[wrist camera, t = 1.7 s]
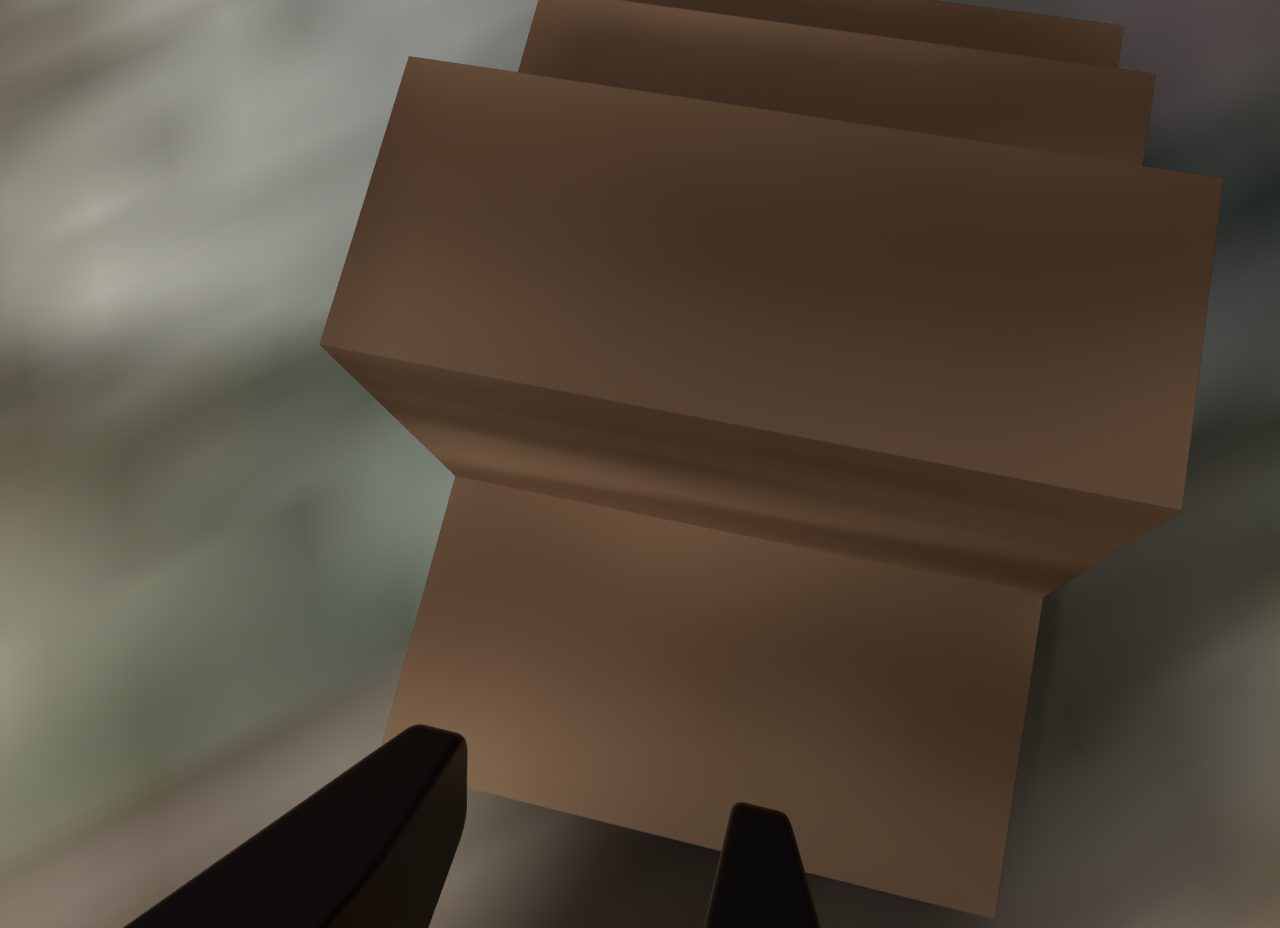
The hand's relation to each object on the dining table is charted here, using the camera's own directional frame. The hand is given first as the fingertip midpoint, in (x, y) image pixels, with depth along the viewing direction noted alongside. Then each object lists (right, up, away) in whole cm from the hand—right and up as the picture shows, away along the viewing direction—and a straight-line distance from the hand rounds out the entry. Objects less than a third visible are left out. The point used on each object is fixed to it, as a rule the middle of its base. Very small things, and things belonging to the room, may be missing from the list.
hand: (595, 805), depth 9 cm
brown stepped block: (+3, +4, +14) cm, 15 cm away
